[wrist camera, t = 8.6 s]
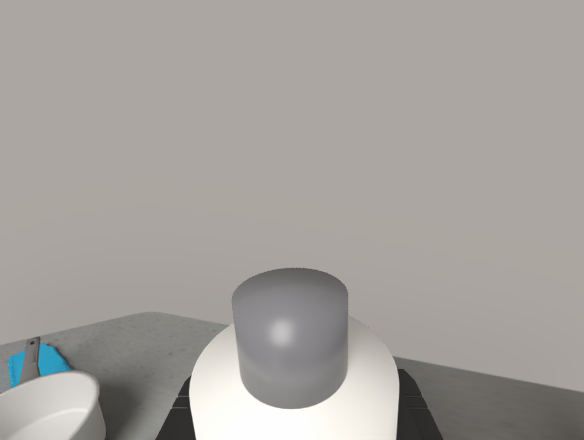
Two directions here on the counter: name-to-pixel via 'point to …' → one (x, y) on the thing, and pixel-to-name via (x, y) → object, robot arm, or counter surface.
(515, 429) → the counter surface
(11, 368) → the sponge
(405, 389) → the robot arm
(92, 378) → the saucepan
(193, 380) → the white bottle
